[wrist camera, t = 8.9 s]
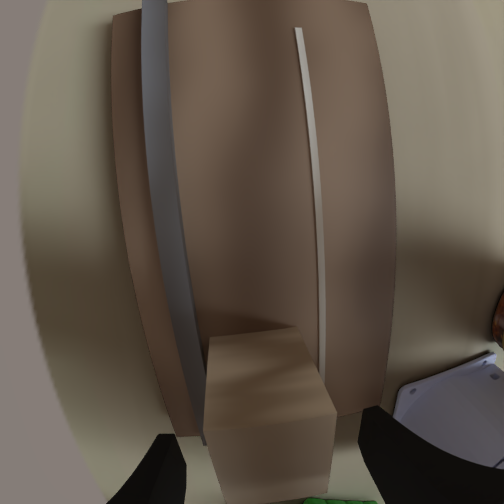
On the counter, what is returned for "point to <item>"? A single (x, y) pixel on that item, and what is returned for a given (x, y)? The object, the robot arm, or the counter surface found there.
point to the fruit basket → (335, 501)
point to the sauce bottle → (499, 323)
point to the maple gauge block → (267, 418)
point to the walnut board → (256, 187)
